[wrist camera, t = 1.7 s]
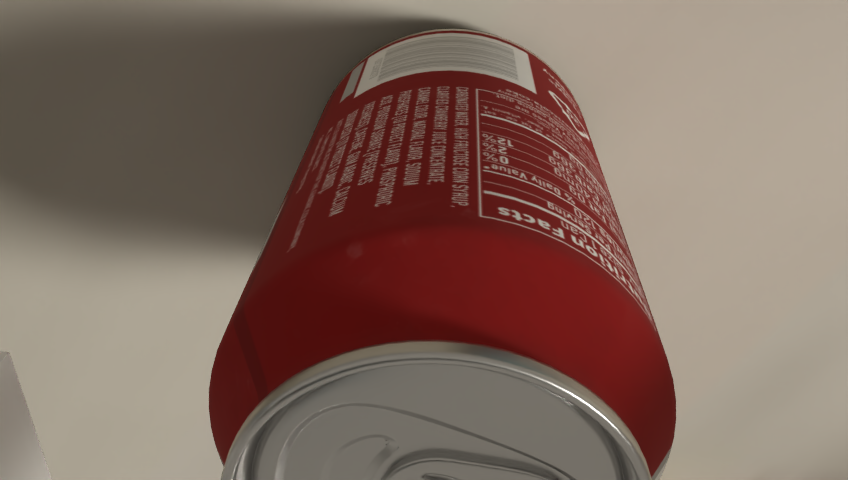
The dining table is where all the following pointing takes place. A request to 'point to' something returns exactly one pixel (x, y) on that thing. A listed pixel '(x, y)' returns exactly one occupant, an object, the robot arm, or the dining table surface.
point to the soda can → (445, 290)
